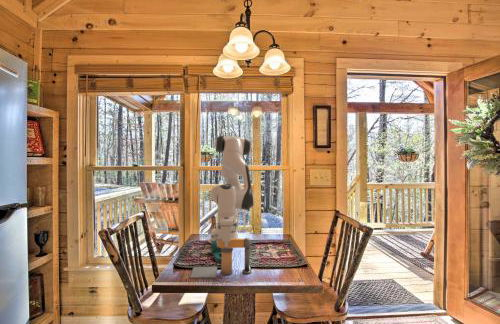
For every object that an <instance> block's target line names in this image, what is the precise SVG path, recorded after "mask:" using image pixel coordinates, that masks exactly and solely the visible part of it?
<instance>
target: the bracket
mask: <svg viewBox="0 0 500 324" xmlns="http://www.w3.org/2000/svg"><path fill="white" fill-rule="evenodd" d="M210 244H211V245H210V246H211V247H210V248H211V254H212V256H214V257H213V259H214V260H215V262H216V261H217V262H216V263H220V262H221V260H222V251H221V248H219V247H217V242H216V240H215V241H212V243H210Z"/></svg>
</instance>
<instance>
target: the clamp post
mask: <svg viewBox="0 0 500 324" xmlns="http://www.w3.org/2000/svg"><path fill="white" fill-rule="evenodd" d="M250 248H251V247H250ZM250 248H244V269H242V271H241V272H242V274H243V275H250V274H252V269H250Z"/></svg>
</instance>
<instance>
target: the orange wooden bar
mask: <svg viewBox="0 0 500 324" xmlns="http://www.w3.org/2000/svg"><path fill="white" fill-rule="evenodd" d="M224 244H225V243H224V242H222V239H219V247H218V248H233V249H234V248H235V249H236V248H237V249H242V248H244V249H245V248H251V238H250V237H246V238H238V239H230V242H228V247H225V246H224Z"/></svg>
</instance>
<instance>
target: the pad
mask: <svg viewBox="0 0 500 324" xmlns="http://www.w3.org/2000/svg"><path fill="white" fill-rule="evenodd" d="M217 273H218V266H195V267H193V268H192V271H191V274H190V277H189V279H192V280H193V279H195V280H196V279H216V278H217Z"/></svg>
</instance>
